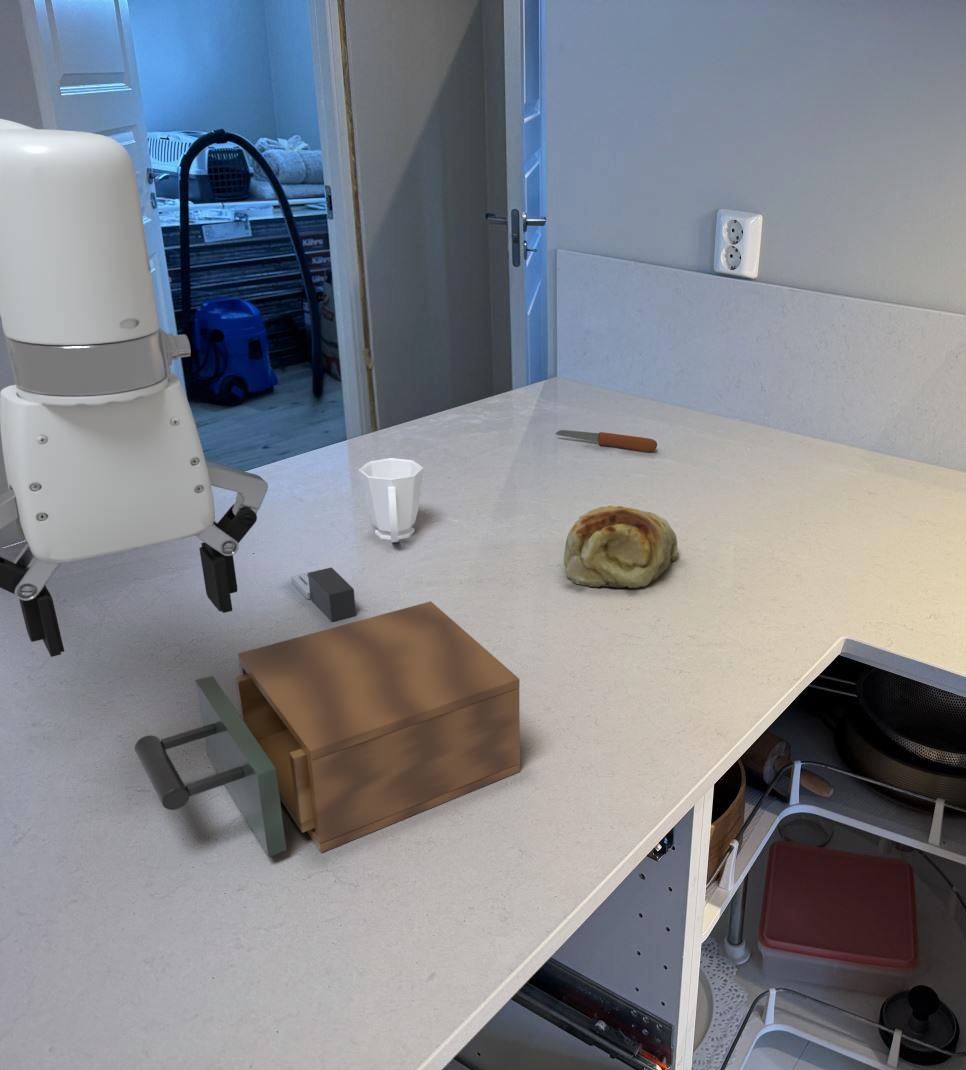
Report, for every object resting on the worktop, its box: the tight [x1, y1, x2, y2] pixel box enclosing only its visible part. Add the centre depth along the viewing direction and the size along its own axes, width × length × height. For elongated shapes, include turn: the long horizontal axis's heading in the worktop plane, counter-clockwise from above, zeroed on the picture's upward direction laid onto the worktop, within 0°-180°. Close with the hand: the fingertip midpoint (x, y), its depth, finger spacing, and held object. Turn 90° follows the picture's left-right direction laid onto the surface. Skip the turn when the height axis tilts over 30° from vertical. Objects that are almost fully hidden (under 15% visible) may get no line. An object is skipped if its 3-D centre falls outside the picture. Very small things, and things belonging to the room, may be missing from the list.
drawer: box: [134, 674, 315, 858], centre depth 72 cm, size 20×13×7 cm
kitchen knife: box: [555, 429, 658, 453], centre depth 149 cm, size 16×1×2 cm, turn 80°
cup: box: [358, 457, 424, 543], centre depth 113 cm, size 7×10×8 cm
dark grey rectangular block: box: [290, 567, 357, 623], centre depth 100 cm, size 10×3×3 cm, turn 41°
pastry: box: [563, 505, 679, 589], centre depth 110 cm, size 14×12×8 cm
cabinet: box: [237, 600, 521, 853], centre depth 76 cm, size 16×15×9 cm
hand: (140, 624), depth 64 cm, fingers open, 9 cm apart
